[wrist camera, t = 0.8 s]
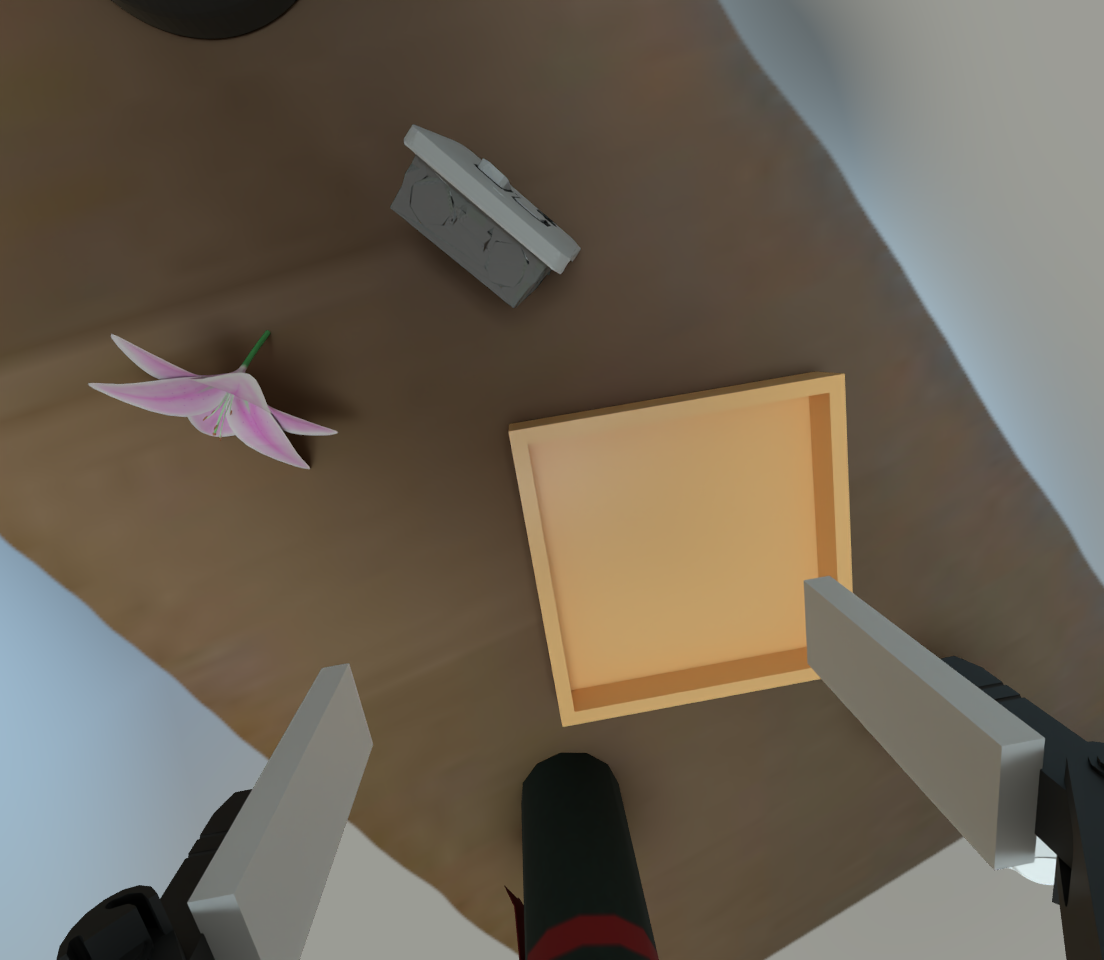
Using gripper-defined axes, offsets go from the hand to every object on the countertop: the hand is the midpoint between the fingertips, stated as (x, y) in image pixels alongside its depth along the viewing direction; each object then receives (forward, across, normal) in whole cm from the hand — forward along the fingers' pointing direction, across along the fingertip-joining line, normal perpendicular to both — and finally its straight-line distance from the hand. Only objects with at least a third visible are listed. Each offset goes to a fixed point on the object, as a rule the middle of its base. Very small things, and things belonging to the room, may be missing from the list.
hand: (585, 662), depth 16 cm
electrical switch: (+23, 0, +15) cm, 28 cm away
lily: (+23, -17, +8) cm, 30 cm away
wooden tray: (+23, +9, -7) cm, 25 cm away
